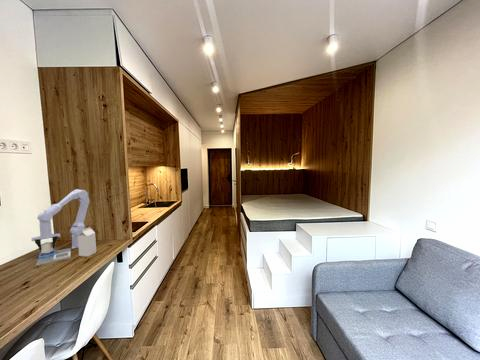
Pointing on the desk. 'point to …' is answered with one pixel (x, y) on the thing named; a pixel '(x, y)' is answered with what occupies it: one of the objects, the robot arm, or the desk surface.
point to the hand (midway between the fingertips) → (47, 248)
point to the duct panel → (55, 256)
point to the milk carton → (87, 242)
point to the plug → (47, 247)
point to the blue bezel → (47, 255)
